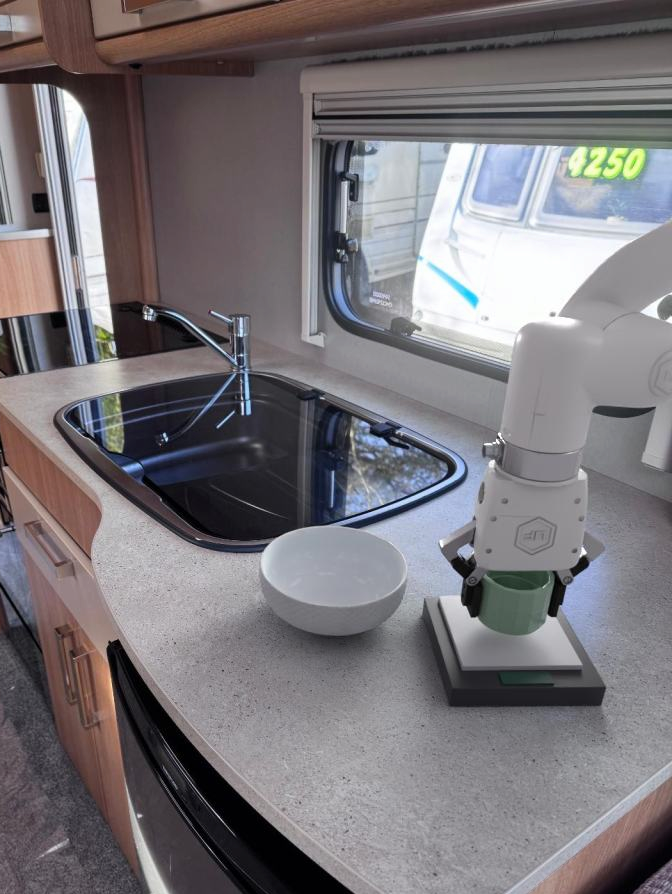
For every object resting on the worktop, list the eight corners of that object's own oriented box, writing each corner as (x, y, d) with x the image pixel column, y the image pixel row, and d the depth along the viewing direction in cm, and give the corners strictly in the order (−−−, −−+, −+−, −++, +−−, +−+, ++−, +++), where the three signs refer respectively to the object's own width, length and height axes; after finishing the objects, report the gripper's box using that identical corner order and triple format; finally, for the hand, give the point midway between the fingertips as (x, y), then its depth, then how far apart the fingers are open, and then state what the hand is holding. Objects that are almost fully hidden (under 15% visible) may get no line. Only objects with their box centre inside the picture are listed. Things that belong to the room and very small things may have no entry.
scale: (550, 613, 84) (555, 592, 83) (601, 705, 71) (608, 682, 70) (422, 614, 84) (424, 593, 82) (449, 707, 71) (453, 683, 69)
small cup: (532, 595, 79) (540, 552, 77) (554, 637, 73) (565, 592, 70) (465, 595, 79) (471, 552, 77) (482, 638, 73) (489, 593, 70)
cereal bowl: (394, 671, 75) (400, 616, 72) (241, 646, 79) (239, 593, 75) (410, 582, 90) (415, 532, 86) (280, 564, 93) (280, 516, 90)
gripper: (454, 473, 64) (433, 632, 72) (649, 473, 64) (606, 631, 73) (437, 440, 70) (420, 589, 79) (614, 439, 71) (578, 588, 79)
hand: (509, 608), depth 76 cm, fingers closed on small cup, 7 cm apart
